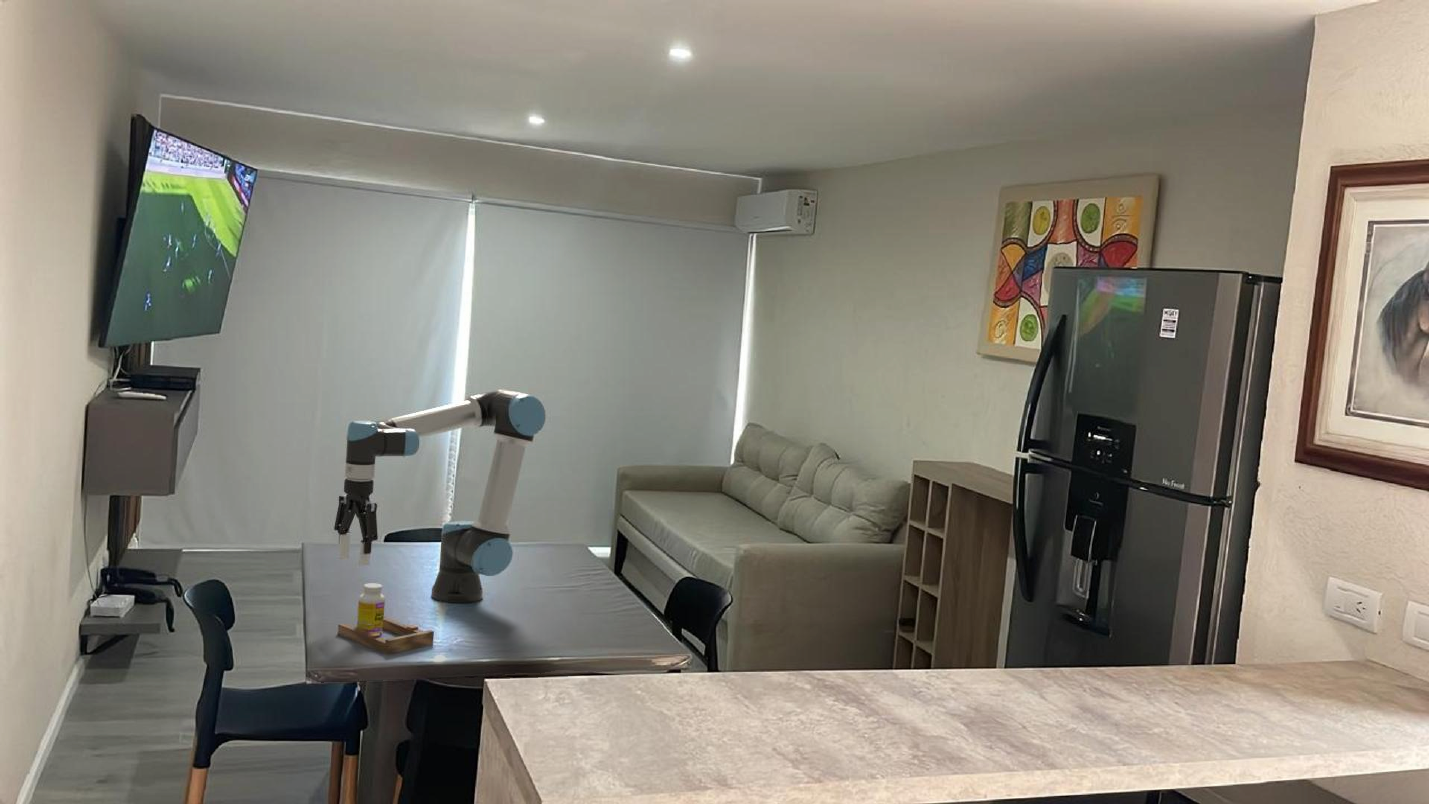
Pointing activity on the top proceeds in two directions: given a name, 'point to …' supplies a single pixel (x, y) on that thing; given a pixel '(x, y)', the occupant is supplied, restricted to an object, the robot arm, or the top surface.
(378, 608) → the supplement bottle
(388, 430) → the robot arm
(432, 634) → the wooden frame
